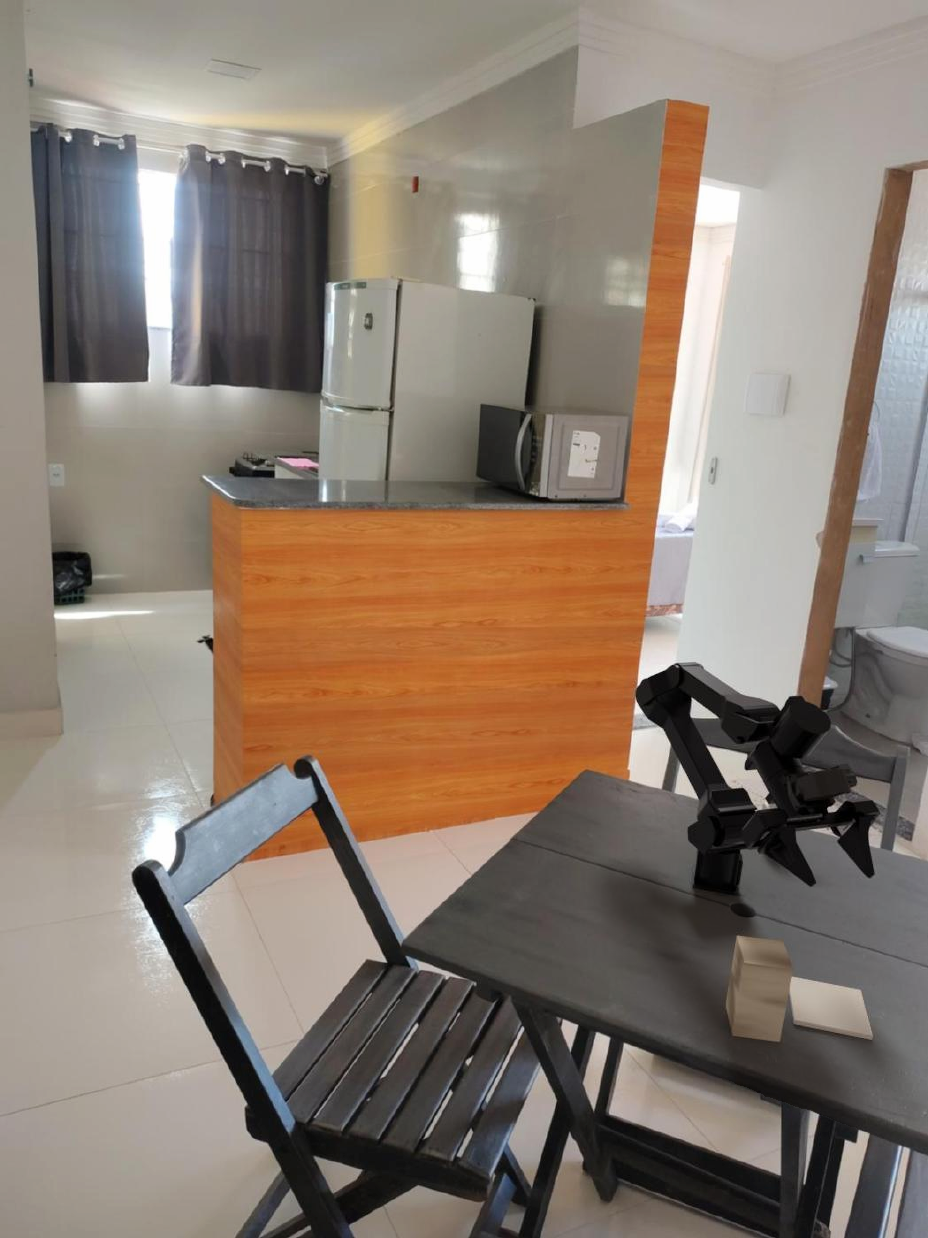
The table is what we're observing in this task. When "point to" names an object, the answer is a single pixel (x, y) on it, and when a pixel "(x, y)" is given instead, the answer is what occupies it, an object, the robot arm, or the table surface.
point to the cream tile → (829, 1008)
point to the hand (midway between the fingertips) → (843, 881)
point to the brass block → (758, 988)
